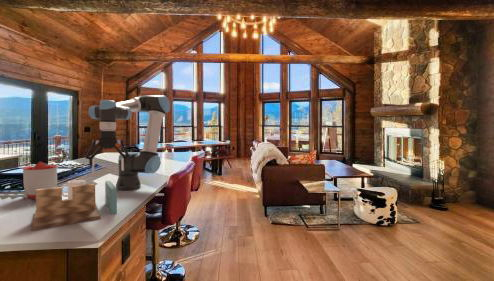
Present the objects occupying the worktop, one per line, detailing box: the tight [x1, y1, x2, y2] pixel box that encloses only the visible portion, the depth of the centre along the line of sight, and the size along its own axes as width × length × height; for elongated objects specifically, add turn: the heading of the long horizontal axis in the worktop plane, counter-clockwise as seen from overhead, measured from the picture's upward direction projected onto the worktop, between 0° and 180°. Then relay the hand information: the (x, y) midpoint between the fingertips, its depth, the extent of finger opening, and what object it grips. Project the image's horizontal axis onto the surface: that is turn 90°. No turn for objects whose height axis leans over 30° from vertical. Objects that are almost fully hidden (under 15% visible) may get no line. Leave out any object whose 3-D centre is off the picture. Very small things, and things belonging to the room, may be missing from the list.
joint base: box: [30, 183, 102, 231], centre depth 119 cm, size 24×24×14 cm
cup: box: [60, 179, 87, 199], centre depth 144 cm, size 8×12×10 cm
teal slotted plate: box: [104, 180, 118, 215], centre depth 131 cm, size 2×20×12 cm, turn 35°
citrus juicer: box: [22, 161, 58, 200], centre depth 149 cm, size 16×17×20 cm
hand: (108, 171), depth 135 cm, fingers open, 13 cm apart
